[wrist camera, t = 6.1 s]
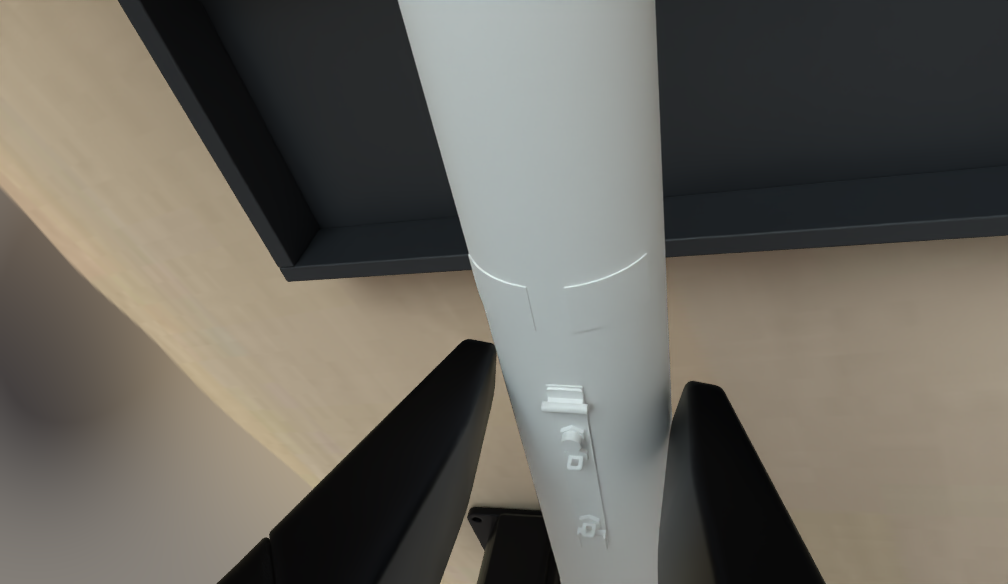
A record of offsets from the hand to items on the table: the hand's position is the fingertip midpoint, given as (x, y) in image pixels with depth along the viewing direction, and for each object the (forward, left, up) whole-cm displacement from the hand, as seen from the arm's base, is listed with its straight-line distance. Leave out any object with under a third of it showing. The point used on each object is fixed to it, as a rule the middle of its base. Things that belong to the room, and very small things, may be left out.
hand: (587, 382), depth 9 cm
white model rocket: (0, 0, -1) cm, 1 cm away
